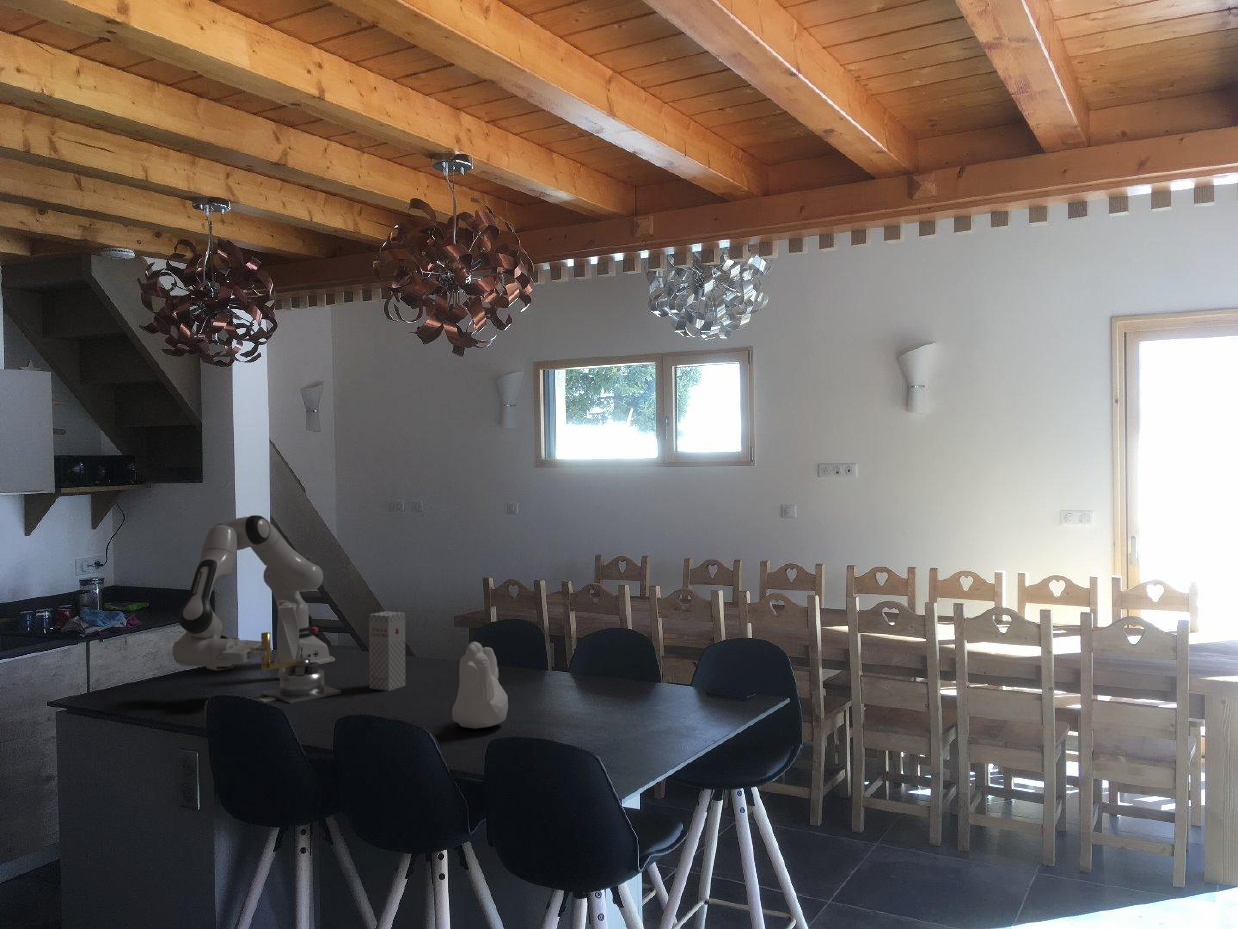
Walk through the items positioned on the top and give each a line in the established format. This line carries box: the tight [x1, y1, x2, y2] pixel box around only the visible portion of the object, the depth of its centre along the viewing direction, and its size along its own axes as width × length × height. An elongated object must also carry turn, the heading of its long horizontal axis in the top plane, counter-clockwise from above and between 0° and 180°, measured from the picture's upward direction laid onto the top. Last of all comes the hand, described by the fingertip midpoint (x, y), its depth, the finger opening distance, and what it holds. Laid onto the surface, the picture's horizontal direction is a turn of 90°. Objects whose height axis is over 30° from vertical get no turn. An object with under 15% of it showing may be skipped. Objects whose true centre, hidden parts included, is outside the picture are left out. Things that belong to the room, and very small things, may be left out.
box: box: [368, 610, 406, 692], centre depth 334 cm, size 8×8×25 cm
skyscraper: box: [276, 600, 304, 680], centre depth 349 cm, size 8×8×28 cm
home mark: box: [258, 696, 277, 703], centre depth 316 cm, size 4×4×1 cm
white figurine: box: [451, 641, 509, 729], centre depth 286 cm, size 25×16×25 cm, turn 159°
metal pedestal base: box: [262, 668, 342, 704], centre depth 324 cm, size 18×18×7 cm
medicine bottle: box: [206, 635, 235, 672], centre depth 366 cm, size 7×7×12 cm
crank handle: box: [260, 631, 320, 675], centre depth 322 cm, size 18×10×14 cm, turn 130°
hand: (268, 652), depth 316 cm, fingers open, 3 cm apart
